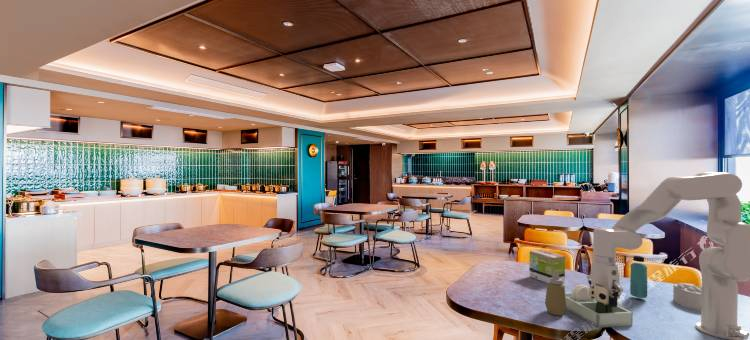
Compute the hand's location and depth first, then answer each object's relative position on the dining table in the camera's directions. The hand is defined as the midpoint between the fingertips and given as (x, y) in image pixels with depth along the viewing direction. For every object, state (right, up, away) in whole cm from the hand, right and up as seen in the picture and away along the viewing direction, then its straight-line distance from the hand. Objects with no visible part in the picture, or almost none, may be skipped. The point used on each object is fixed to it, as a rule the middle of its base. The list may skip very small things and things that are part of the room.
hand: (603, 302), depth 137 cm
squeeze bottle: (-16, -7, +6) cm, 19 cm away
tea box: (+2, -7, +49) cm, 50 cm away
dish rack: (-1, -7, +5) cm, 9 cm away
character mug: (0, -6, 0) cm, 6 cm away
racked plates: (-2, -6, +11) cm, 12 cm away
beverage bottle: (+32, -7, +23) cm, 40 cm away
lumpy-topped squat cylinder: (+51, -8, +17) cm, 54 cm away
